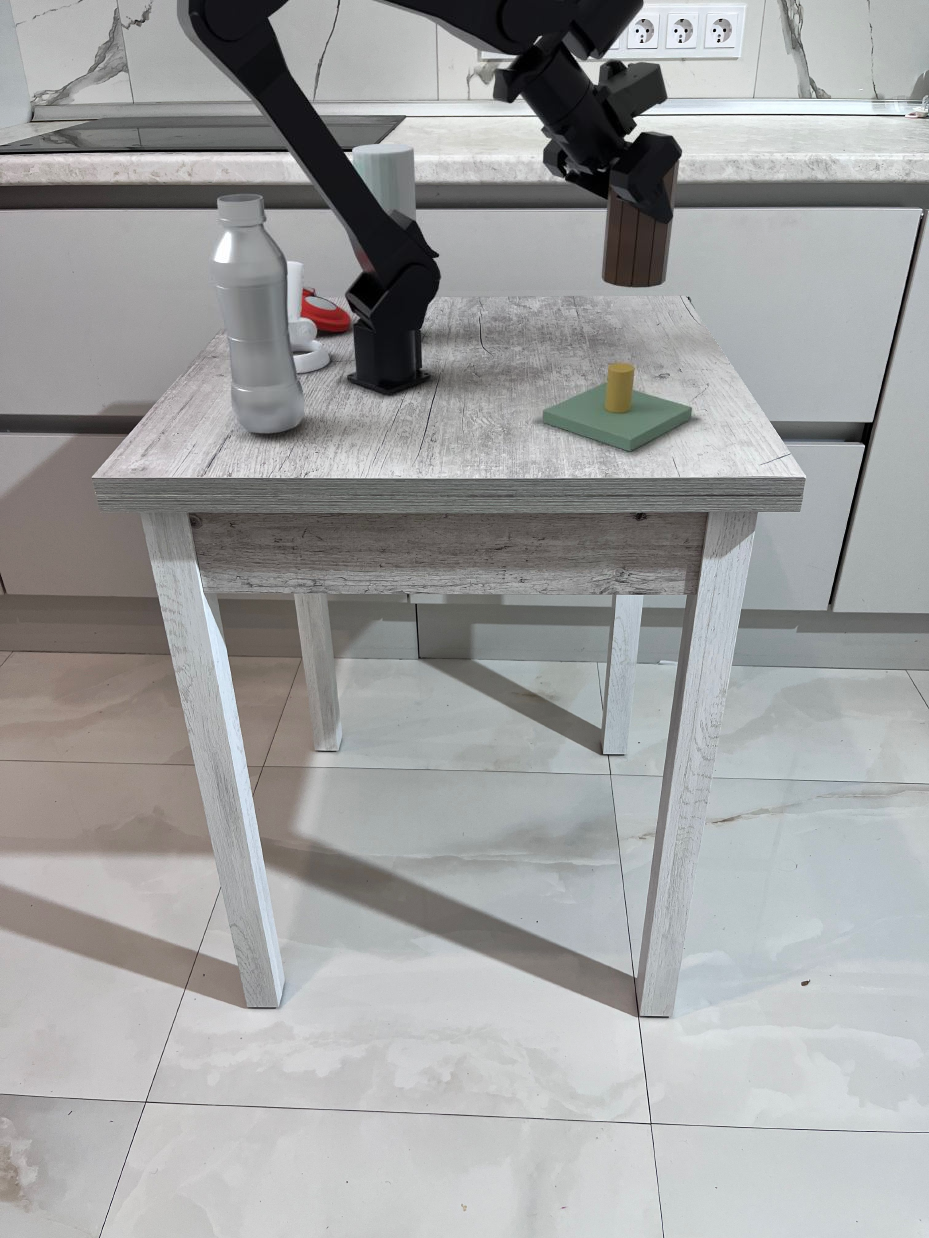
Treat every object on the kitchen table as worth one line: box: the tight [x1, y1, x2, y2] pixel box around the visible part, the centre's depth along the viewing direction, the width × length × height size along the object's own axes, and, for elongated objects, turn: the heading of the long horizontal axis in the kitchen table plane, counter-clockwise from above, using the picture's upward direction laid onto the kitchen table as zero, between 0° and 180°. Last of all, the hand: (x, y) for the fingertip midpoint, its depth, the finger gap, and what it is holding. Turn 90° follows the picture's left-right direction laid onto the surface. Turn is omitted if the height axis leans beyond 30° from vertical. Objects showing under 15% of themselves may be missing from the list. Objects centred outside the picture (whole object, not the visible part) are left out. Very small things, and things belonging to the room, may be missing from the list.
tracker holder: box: [300, 284, 352, 333], centre depth 113 cm, size 12×4×10 cm
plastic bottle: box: [208, 193, 306, 434], centre depth 82 cm, size 6×7×20 cm
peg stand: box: [542, 362, 693, 452], centre depth 87 cm, size 10×10×5 cm
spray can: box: [351, 143, 417, 272], centre depth 104 cm, size 6×6×20 cm
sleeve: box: [601, 159, 680, 288], centre depth 99 cm, size 7×7×12 cm
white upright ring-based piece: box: [286, 260, 331, 374], centre depth 102 cm, size 8×12×7 cm
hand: (650, 214), depth 99 cm, fingers closed on sleeve, 7 cm apart
